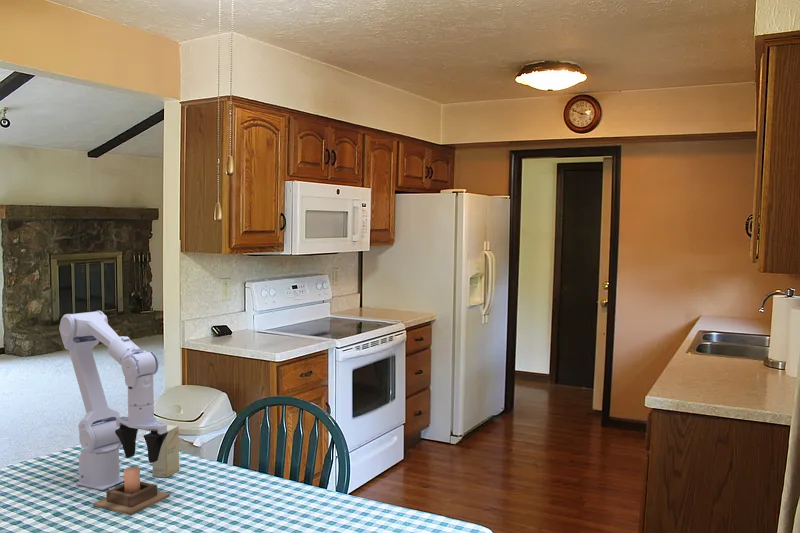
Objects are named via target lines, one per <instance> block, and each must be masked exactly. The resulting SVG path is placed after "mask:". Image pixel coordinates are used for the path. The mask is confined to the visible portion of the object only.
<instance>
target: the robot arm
mask: <svg viewBox="0 0 800 533" xmlns="http://www.w3.org/2000/svg"><path fill="white" fill-rule="evenodd" d="M107 316H108V315H106V314H105V312H103V311H102V310H96V311H89V312H87V311H86V312H79V313H78V312H77V313H66V314H64V315H63V316H62V317H61V319H60V323H59V327H58V328H59V333H60V337H61V341H62V343H63V346H64V347H63V348H64V349H65V350H67V351H68V352H69V356H70V359H71V363H72V366H73V370H74V373H75V377H76V380H77V384H78V388H79V391H80V395H81V400H82V403H83V405H84V410H85V413H86V414H85V415H84V416H83V418H82V419H81V420H80V422H79V423H78V426H77V428H78V431H79V437H78V438H79V443H80V445H81V448H82V450H81V452H80V454H79V457H78V480H79V481H76V483H75V484H76V485H77V486H78V485H79V486H82V487H87V488H91V489H95V490H100V491H105V490H107V489H109V488H112V487H114V486H116V485H118V484H119V485H120V484H121V483H123V482H124V476H120V448H121V447H122V450H123V452H124V457H125V458H126V459H128V458H133V457H135V454H136V442H137V441H136V440H137V437H138V436H137V435H138V431H139V430H142V431H147V432H150V433H147V434H144V435H143V439H144V441H145V444H146V447H147V448H146V449H147V456H148V458H147V459H148V463H149V464H153V462H156V461H158V457H159V453H160V449H161V446H162V444H163V441H164V439H165V438H166V436H167V434H168V432H167V425H168V424H166V423H162V421H159V420H157V417H155V415H154V414H155V406H154V401H155V400H154V396H155V395H154V375H155V374H157V372H158V370H159V360H158V357H157V355H156V353H154V351H152V350H142V349H141V347H140V346H138V345H137V344H135V342H133V341H132V340H131V339H130V337H129V336H122V335H121V336H119V335H118V334H117V332H116V331H115V330H114V329H113V328H112V327H111V326H110V325H109V322H108V321H109V320H108V317H107ZM99 343H102V344H103V345H104V346H106V347H107V352H108V355H109V356H110V357H111V358H112V359H114V360H115V361H116V362H117V363H118V364H119V365H120V366H121V370H122V371H121V372H122V374H123V376H124V381H125V382H124V384H125V385H126V386H127V416H121V415H120V413H119V411H117V410H114V409H113V408H111V407H109V406H108V402H107V399H106V395H105V391H104V388H103V384H102V382H101V378H100V374H99V371H98V367H97V364H96V361H95V357H94V354H93V349H94V347H96V346H97V345H99Z"/></svg>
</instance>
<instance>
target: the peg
mask: <svg viewBox="0 0 800 533" xmlns="http://www.w3.org/2000/svg"><path fill="white" fill-rule="evenodd" d="M123 477H124V481H123V482H124V483H123V484H124V493H128V494H133V493H136V492H138V491H140V481H141V469H140V467H139V466H129V467H126V468H125V469H124V470H123Z"/></svg>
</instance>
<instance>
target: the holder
mask: <svg viewBox="0 0 800 533" xmlns="http://www.w3.org/2000/svg"><path fill="white" fill-rule="evenodd" d="M169 497H171V493H168V492H164V491H160V490H158V484H153V483H149V482H146V481H145V482H144V481H141V480H140V491H138V492H136V493H133V494H128V493H124V483H122V484H119V485H117V486H115V487H113V488H111V489H108V490H107V491H106V497H104V498H101V499H99V500H97V501H95V502H93V503H92V506H93V507H97V508H100V507H101V509H104V508H105V510H109V511H112V512H116V513H119V512H120V514H124V515H128V516H133V515H135V514H137V513H139V512H141V511H144V510H145V509H147V508H149V507H152V506H153V505H155V504H157V503H159V502H161V501H163V500H165V499H168V498H169Z"/></svg>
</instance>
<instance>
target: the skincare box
mask: <svg viewBox="0 0 800 533" xmlns="http://www.w3.org/2000/svg"><path fill="white" fill-rule="evenodd" d="M167 432H168V434H167V436H166V438H165V439H164V441H163V444H162V446H161V449H160V453H159V457H158V461H156V462H153V463H152V477H157V478H169V477H170V476H171V475H174V474H175V473H177V472H178V471H179V470H180V453H179V452H180V449H179V448H180V445H179V442H180V441H179V425H176V424H175V425H172V424H167Z"/></svg>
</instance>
